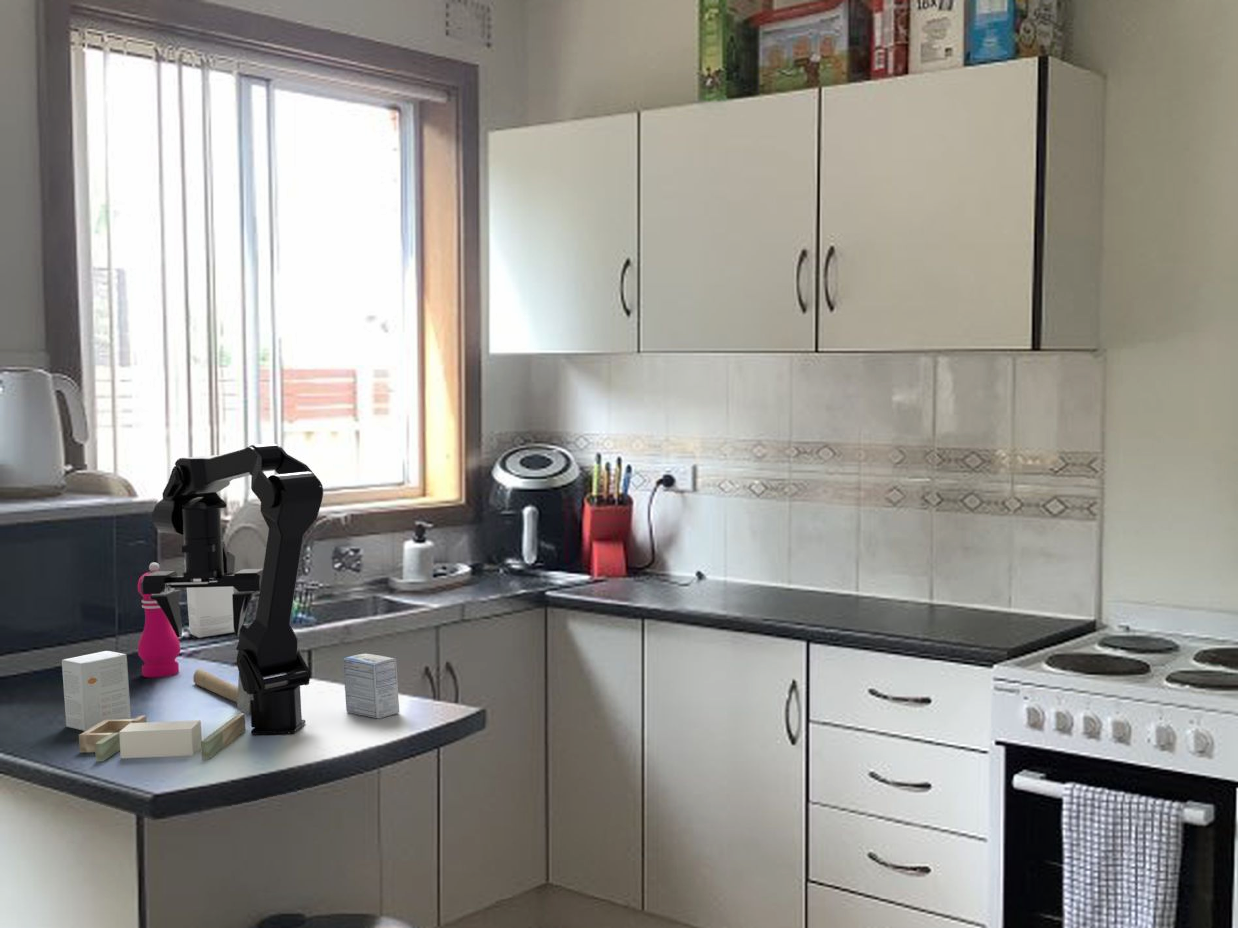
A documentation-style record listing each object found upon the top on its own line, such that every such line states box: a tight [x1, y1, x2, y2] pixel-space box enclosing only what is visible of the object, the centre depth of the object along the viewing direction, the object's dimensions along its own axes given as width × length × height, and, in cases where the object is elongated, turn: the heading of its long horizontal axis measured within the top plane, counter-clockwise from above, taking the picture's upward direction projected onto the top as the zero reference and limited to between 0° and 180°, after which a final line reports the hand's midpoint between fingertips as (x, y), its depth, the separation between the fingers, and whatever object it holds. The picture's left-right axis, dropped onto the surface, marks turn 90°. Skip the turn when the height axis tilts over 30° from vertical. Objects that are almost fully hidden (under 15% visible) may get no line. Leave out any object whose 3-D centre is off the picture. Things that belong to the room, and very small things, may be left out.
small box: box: [61, 650, 132, 732], centre depth 228 cm, size 8×6×10 cm
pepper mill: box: [137, 561, 181, 679], centre depth 264 cm, size 7×7×20 cm
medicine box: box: [343, 653, 400, 720], centre depth 228 cm, size 8×4×9 cm, turn 47°
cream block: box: [119, 719, 203, 759], centre depth 210 cm, size 10×5×4 cm, turn 91°
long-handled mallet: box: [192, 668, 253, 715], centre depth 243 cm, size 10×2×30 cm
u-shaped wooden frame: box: [78, 712, 247, 762], centre depth 213 cm, size 20×16×2 cm
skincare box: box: [184, 559, 235, 639], centre depth 303 cm, size 8×7×16 cm
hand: (208, 636), depth 232 cm, fingers open, 9 cm apart
